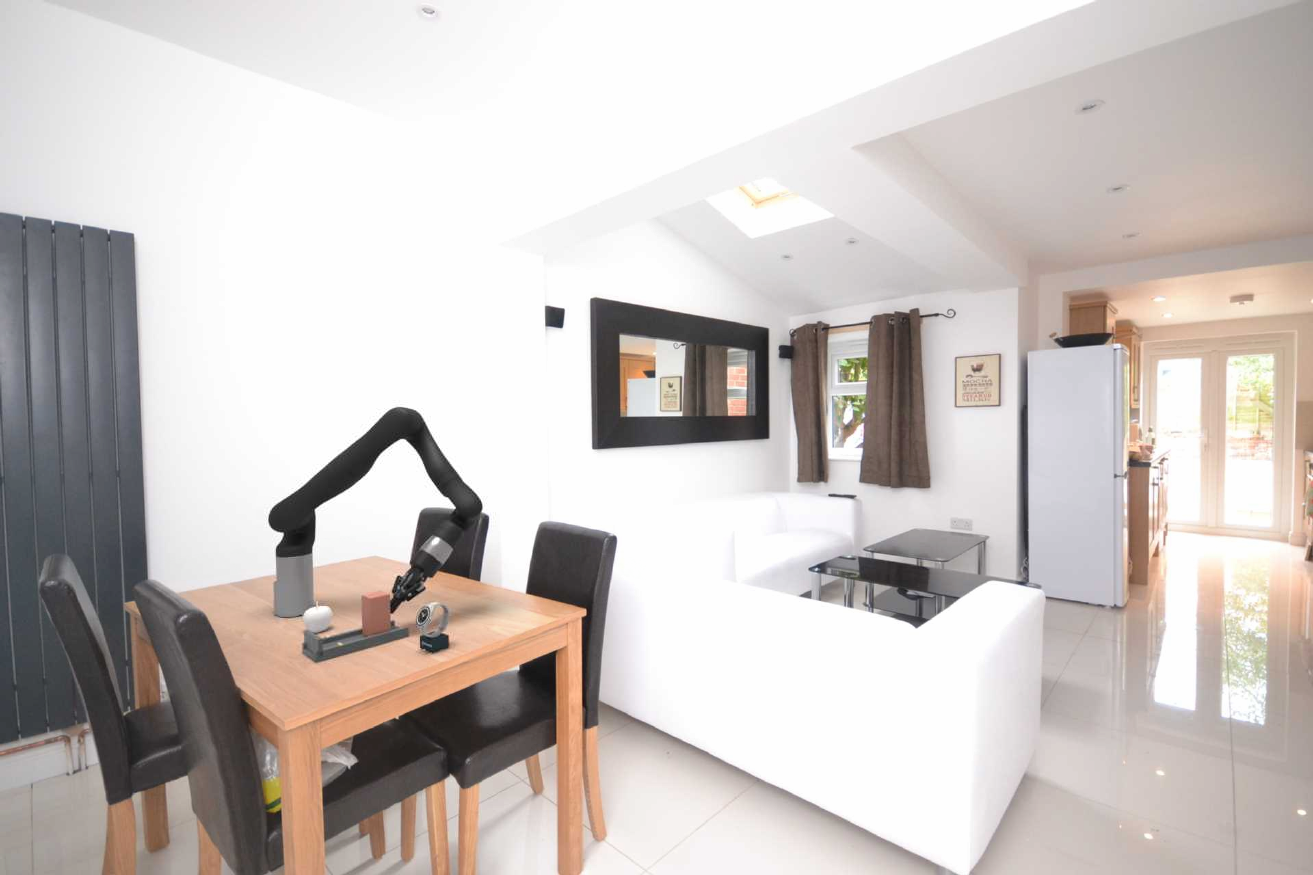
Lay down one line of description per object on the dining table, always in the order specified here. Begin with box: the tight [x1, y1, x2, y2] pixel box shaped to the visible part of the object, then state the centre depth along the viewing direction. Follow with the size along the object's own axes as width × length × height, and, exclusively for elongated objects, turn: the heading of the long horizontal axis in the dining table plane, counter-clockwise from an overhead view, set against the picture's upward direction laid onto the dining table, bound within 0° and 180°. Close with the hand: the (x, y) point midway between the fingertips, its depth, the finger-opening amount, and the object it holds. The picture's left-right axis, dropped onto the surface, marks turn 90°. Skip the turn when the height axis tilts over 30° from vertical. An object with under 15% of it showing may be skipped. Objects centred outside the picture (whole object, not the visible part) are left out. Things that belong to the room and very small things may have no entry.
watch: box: [415, 601, 451, 654], centre depth 146 cm, size 6×8×11 cm
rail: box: [301, 619, 410, 663], centre depth 149 cm, size 22×9×5 cm, turn 138°
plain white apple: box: [302, 600, 334, 634], centre depth 160 cm, size 7×7×8 cm
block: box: [361, 590, 392, 637], centre depth 153 cm, size 5×5×10 cm
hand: (388, 611), depth 155 cm, fingers closed
